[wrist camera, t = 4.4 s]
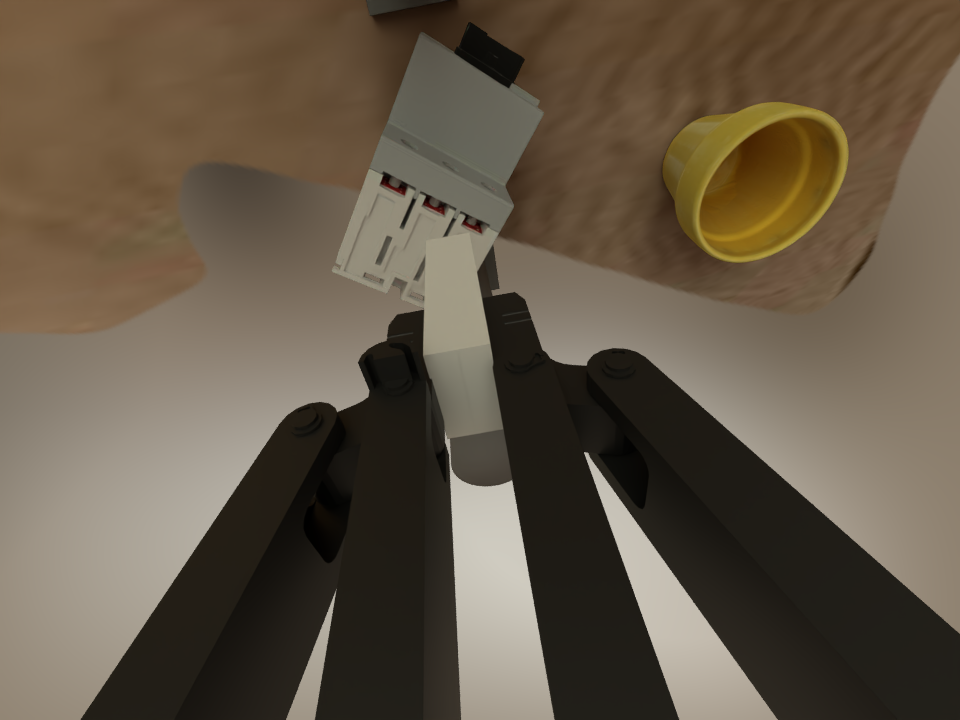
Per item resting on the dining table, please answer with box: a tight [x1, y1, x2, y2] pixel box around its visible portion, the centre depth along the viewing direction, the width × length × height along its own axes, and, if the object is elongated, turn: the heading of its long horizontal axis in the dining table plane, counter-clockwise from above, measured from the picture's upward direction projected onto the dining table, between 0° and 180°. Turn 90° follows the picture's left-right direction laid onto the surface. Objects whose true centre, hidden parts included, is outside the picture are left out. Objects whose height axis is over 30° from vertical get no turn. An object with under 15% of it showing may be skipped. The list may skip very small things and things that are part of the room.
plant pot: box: [663, 102, 848, 263], centre depth 34 cm, size 10×10×10 cm
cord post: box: [450, 245, 512, 486], centre depth 32 cm, size 6×6×24 cm
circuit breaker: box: [332, 22, 544, 308], centre depth 29 cm, size 8×14×15 cm, turn 152°
